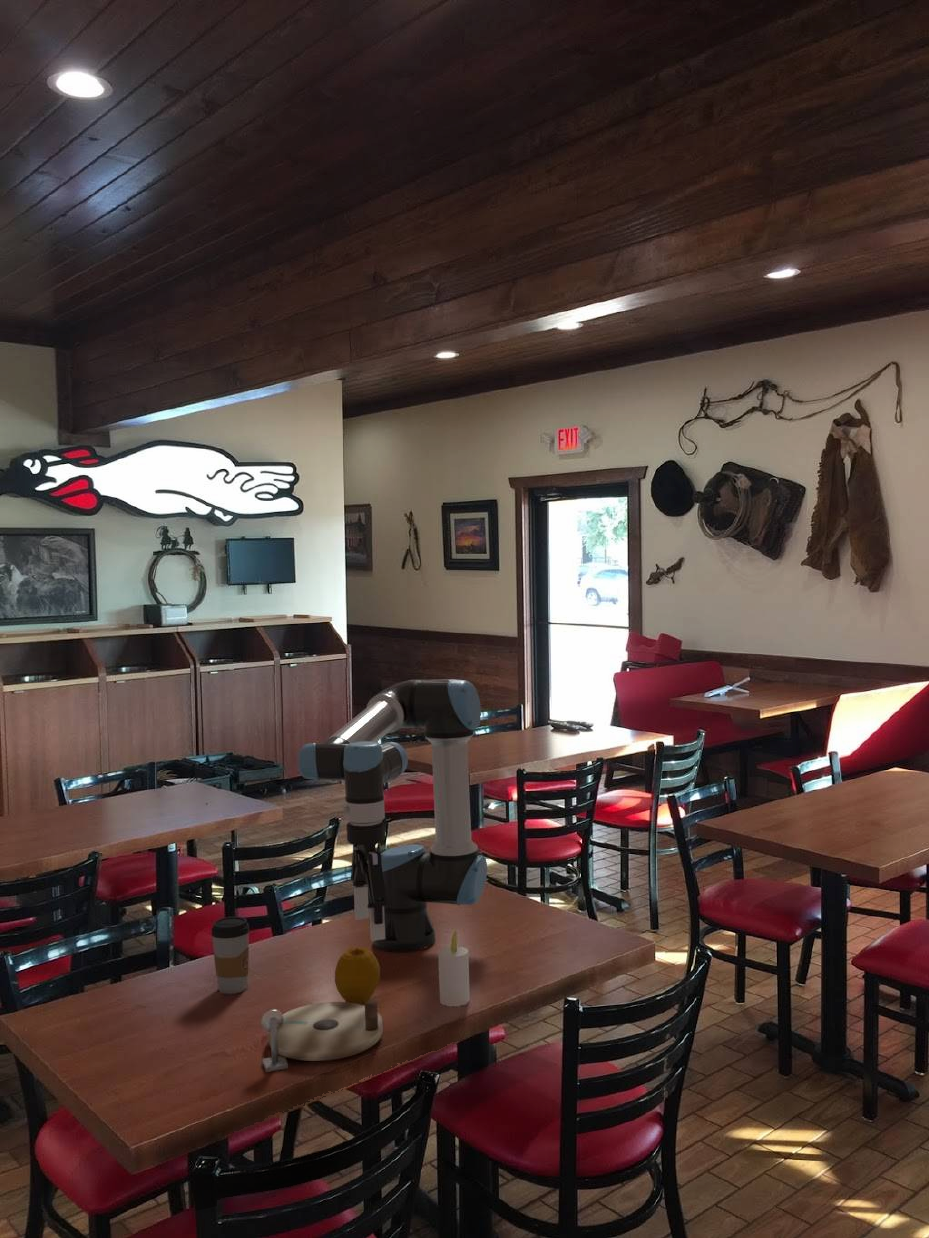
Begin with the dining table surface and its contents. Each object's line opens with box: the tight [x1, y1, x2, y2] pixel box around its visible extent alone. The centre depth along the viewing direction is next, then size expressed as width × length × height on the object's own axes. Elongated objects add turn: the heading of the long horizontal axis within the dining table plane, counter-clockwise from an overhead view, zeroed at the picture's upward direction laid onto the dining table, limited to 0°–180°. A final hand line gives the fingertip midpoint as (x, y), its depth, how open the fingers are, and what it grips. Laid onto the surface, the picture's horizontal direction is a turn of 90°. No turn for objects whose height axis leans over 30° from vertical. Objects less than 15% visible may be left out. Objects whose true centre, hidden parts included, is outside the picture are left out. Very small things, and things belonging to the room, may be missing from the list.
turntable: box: [268, 999, 384, 1062], centre depth 206 cm, size 22×22×7 cm
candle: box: [437, 930, 471, 1008], centre depth 223 cm, size 6×6×15 cm
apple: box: [334, 946, 381, 1005], centre depth 223 cm, size 10×10×12 cm
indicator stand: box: [261, 1008, 289, 1073], centre depth 196 cm, size 4×4×10 cm
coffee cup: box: [211, 916, 250, 995], centre depth 234 cm, size 8×8×15 cm
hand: (369, 928), depth 208 cm, fingers open, 13 cm apart
